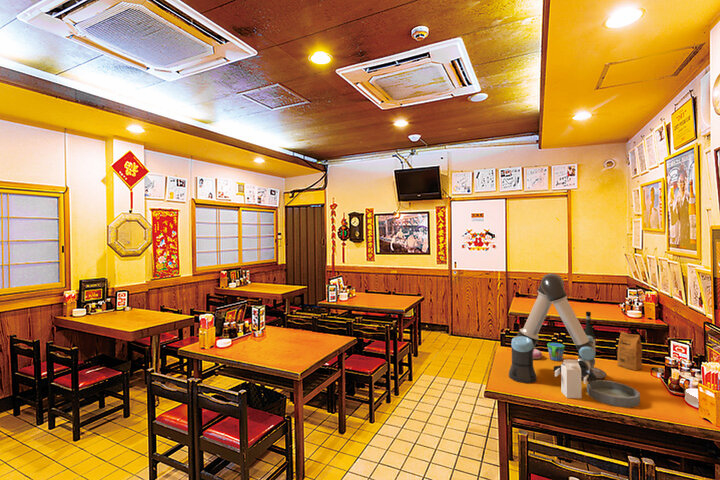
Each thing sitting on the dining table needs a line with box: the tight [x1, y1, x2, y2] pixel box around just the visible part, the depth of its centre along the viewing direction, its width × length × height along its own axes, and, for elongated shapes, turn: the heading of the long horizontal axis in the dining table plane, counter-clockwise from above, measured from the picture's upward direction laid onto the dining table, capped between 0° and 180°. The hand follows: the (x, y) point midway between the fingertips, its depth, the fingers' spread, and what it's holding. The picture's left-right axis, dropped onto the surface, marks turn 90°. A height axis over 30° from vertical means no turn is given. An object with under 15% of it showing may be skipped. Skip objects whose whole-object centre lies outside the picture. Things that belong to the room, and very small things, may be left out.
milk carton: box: [560, 359, 582, 399], centre depth 189 cm, size 7×7×19 cm
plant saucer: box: [581, 366, 607, 381], centre depth 215 cm, size 21×21×3 cm
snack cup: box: [547, 342, 566, 362], centre depth 244 cm, size 16×11×10 cm
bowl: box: [586, 379, 641, 408], centre depth 186 cm, size 22×22×4 cm
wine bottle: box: [583, 311, 596, 351], centre depth 254 cm, size 8×8×30 cm
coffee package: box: [616, 331, 643, 371], centre depth 228 cm, size 10×12×22 cm
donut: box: [533, 348, 543, 360], centre depth 250 cm, size 14×13×5 cm
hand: (569, 377), depth 187 cm, fingers open, 13 cm apart
